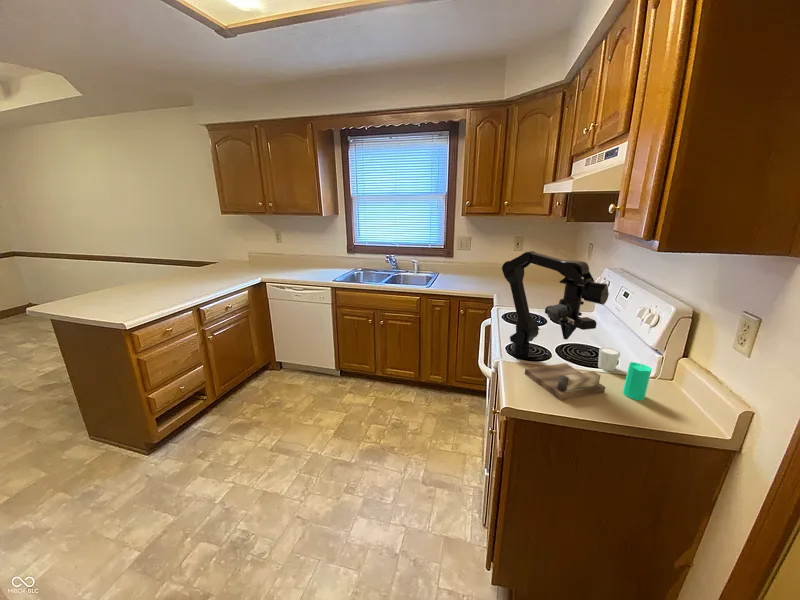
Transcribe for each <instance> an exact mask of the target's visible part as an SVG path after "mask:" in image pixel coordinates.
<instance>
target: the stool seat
mask: <svg viewBox="0 0 800 600" xmlns="http://www.w3.org/2000/svg"><path fill="white" fill-rule="evenodd" d="M578 373H582V371H579V370H578V369H576V368H574V367H573V366H571V365H570V364H568V363H566V362H564V363H557V364H556V363H555V364H548V365H543V366H534V367H529V368H528V367H527V368H525V369H524V375H526V376H527V375H528V376H529V377H528V376H527V377H528V378H530V379H531V378H532V379H533V382H535V381H536V382H537V383H536V382H535V383H536V384H538V386H540V385H541V386H540V387H542V388H543V389H544V388H545V390H546V391H547V392H548V391H549V392H548V393H550V394H551V395H553V396H554V397H555V398H557V399H558V400H559V401H564V400H569V399H573V398H579V397H580V398H581V397H586V396H590V395H597V394H602V393H605V390H606V386H605V385H603V384H602V383H600V382H599V385H595V386H589V387H583V388H577V389H571V390H560V389H558V388H557V386H558V380H559V376H561V375H562V376H565V375H572V374H578ZM532 379H531V380H532Z"/></svg>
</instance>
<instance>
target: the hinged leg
mask: <svg viewBox="0 0 800 600" xmlns="http://www.w3.org/2000/svg"><path fill="white" fill-rule="evenodd" d="M600 379H601V374H599V373H597V372H595V371H594V370H592V371H586V372H581V373H578V374H572V375H565V376H562V375H561V376H559V380H558V386H557V388H558V389H560V390H571V389H577V388H583V387H589V386H595V385H599V383H600Z"/></svg>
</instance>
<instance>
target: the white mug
mask: <svg viewBox="0 0 800 600" xmlns="http://www.w3.org/2000/svg"><path fill="white" fill-rule="evenodd" d="M620 356H621V352H620V351H618V350H616V349H614V348H611V347H600V348H599V351H598V360H597V361H598V363H597V367H598V368H599V369H600V370H603V371H606V372H614V371H615V370H616V368H617V364H618V361H619V358H620Z"/></svg>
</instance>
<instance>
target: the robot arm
mask: <svg viewBox="0 0 800 600" xmlns="http://www.w3.org/2000/svg"><path fill="white" fill-rule="evenodd" d="M531 264H533V265H537V266H539V267H543V268H546V269H549V270H552V271H556V272H558V273H559V274H561V275H562V276H564V278H563V279H561V280H559V283H560V284H564V290H563V291H564V292H563V298H560V300H559V302H558V303H557V304H553V305H547V306H546V307H545V309H544V314H546V315H547V317H548V318H549V319H552V321H553V320H554V321H555V322H558V324H559V325H560V329H561V333H562V338H563V340H565V341H566V340H568V339H569V338H570V336H572V335H573V333H574V332H575V331H576V329H579V330H583V331H584V330H585V331H586V330H593V329H594V330H595V329H596V328H597V321H596V320H595V319H593V318H590V317H587V316H584V317H581V316H582V312H580V311H581V309H580V308H581V306H582V305H585V304H584V303H585V302H589V303H592V304H593V303H594V304H598V305H605V304H606V303H607V301H608V298H609V295H610V293H609V288H608V283H603V282H602V283H601V282H595V279H594V277H593V275H592V274H591V272H590V267H589V265H588V262H586V261H582V260H571V259H570V260H569V259H568V260H566V259H560V258H557V257H555V256H549V255H546V254H542V253H539V252H535V251H533V250H530V251H525V252H524V253H522V254H520V255H518V256H517V257H515V258H513V259H511V260H507V261H505V262H504V263H503V264H502V266H501V270H502V274H503V276H504V279H505V280H506V281H507V282H508V284H509V286H510V289H511V290H510V291H511V295H512V300H513V305H514V309H515V312H516V317H517V321H516V325H515V333H513V334H512V335H510V336H509V340H510V343H512V349H511V350H510V351H508V354H509V355H511V356H513V357H514V358H515V359H517V360H521V359H522V360H523V359H529V358H532V356H531V355H530V345H531V344H530V342H532V341H533V340H534V339H535V338H537V337H538V335H539V331H540V330H541V329H540V328H539V324H538V320H537V319H535V320H534V319H533V317H531V313H530V309H529V304H528V300H527V295H526V291H525V286H524V277H525V268H527V267H529V266H530V265H531ZM582 299H583V300H584V301H585V302H584V301H583V300H582Z"/></svg>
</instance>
